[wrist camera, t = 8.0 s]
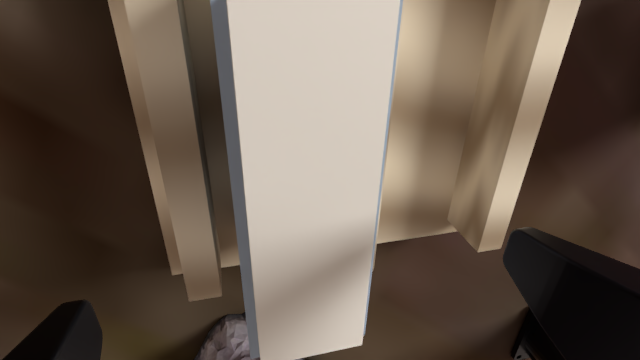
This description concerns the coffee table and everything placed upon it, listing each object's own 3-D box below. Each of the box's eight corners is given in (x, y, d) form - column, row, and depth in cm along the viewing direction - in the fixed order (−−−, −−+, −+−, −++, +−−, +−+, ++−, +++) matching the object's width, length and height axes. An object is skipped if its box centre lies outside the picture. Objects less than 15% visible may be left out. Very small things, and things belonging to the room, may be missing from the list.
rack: (470, 218, 24) (513, 259, 21) (173, 262, 20) (166, 322, 17) (550, -87, 16) (640, -101, 13) (87, -115, 12) (41, -147, 9)
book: (314, 216, 20) (369, 347, 13) (236, 226, 19) (251, 372, 12) (318, -24, 14) (415, -14, 7) (208, -25, 13) (208, -16, 7)
